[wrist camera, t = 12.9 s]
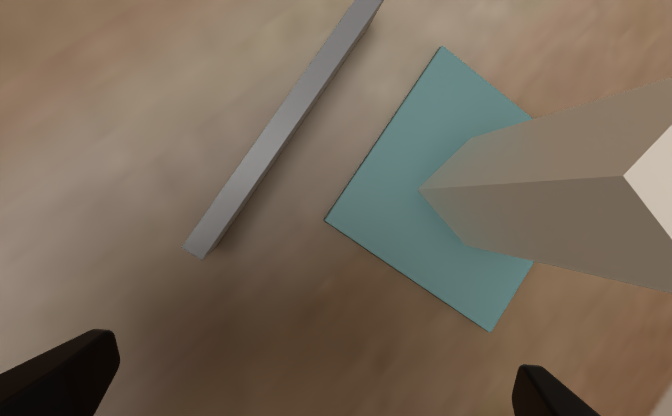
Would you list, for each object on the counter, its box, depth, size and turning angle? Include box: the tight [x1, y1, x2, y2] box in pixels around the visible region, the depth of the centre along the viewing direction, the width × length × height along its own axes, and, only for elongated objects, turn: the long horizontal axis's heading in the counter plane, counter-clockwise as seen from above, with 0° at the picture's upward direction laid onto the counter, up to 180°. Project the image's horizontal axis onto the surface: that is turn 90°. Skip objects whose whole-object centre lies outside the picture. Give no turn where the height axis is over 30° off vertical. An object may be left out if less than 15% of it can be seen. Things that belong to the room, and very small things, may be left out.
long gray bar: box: [181, 0, 384, 260], centre depth 19 cm, size 15×1×4 cm, turn 146°
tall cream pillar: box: [417, 77, 672, 293], centre depth 16 cm, size 4×4×13 cm
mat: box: [324, 46, 534, 333], centre depth 23 cm, size 12×12×1 cm
